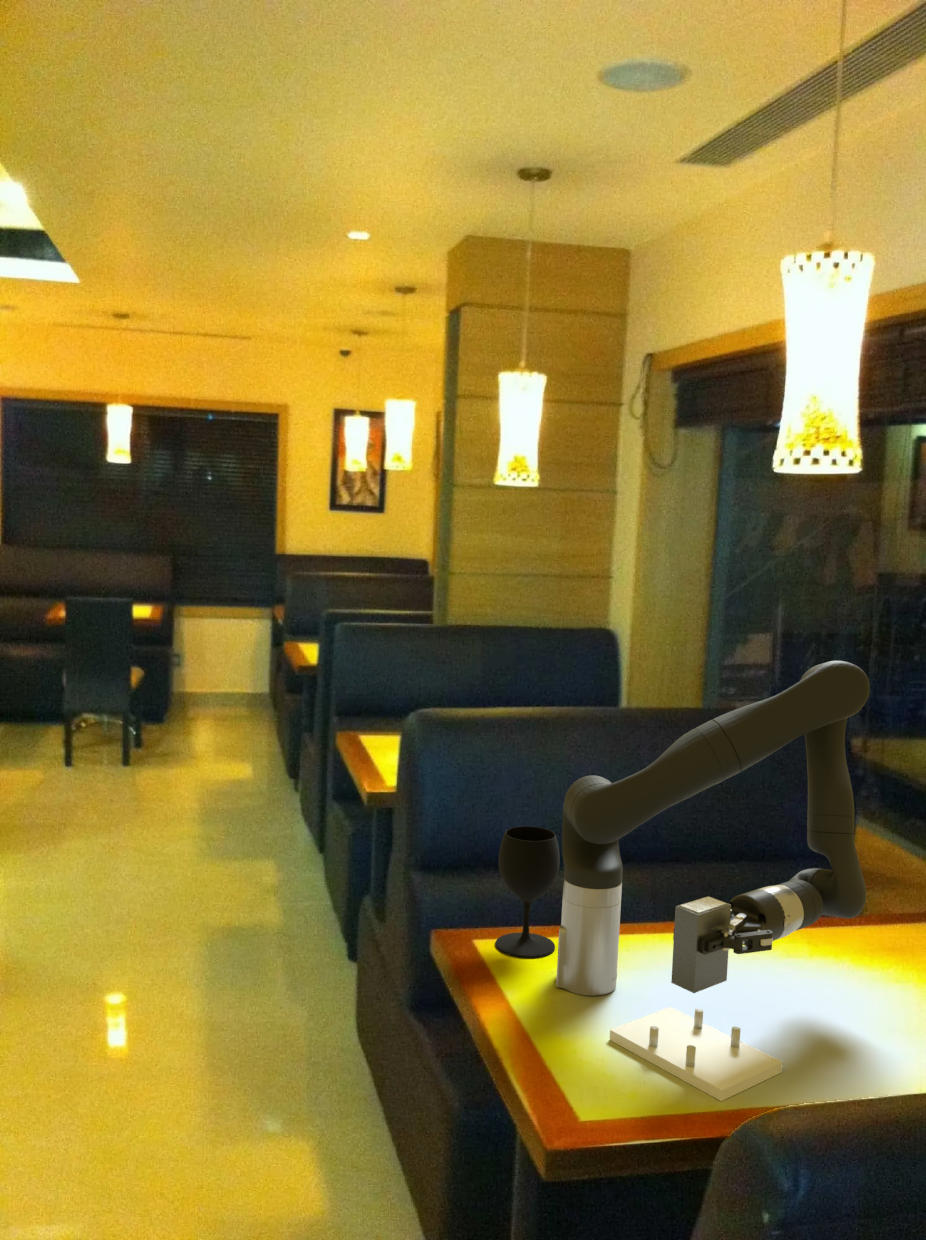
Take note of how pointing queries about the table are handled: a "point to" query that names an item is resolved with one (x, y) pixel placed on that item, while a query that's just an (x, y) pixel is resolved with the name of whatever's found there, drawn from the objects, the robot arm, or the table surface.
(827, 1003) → the table surface
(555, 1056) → the table surface
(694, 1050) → the peg board
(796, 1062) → the table surface
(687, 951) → the grey rectangular block
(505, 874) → the wine glass
